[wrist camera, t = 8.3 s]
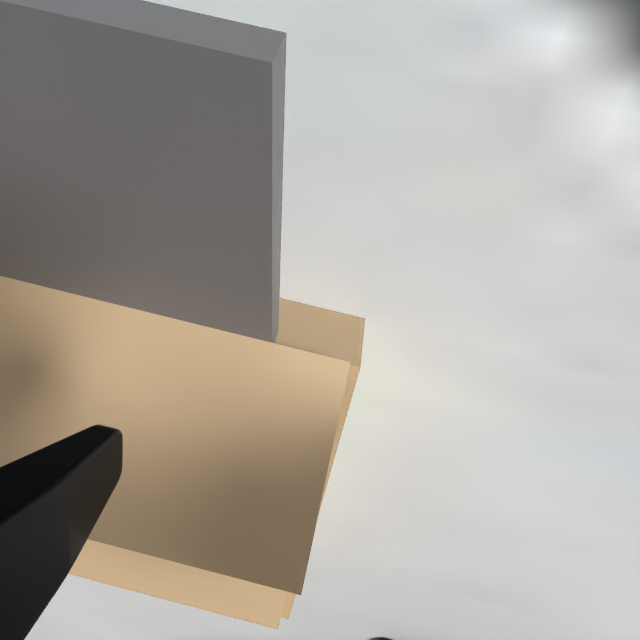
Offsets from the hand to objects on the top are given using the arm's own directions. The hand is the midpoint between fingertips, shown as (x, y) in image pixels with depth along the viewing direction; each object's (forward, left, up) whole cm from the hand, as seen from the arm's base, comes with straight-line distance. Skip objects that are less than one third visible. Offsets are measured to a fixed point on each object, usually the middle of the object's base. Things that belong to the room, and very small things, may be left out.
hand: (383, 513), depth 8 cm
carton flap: (-4, +9, -5) cm, 11 cm away
